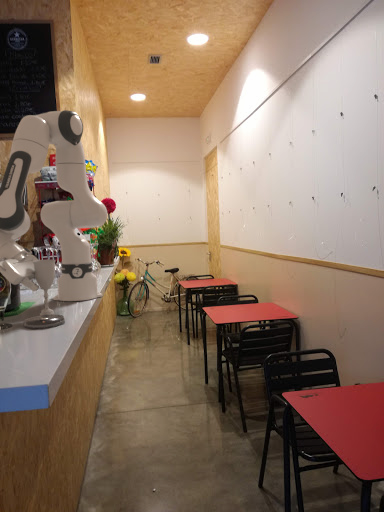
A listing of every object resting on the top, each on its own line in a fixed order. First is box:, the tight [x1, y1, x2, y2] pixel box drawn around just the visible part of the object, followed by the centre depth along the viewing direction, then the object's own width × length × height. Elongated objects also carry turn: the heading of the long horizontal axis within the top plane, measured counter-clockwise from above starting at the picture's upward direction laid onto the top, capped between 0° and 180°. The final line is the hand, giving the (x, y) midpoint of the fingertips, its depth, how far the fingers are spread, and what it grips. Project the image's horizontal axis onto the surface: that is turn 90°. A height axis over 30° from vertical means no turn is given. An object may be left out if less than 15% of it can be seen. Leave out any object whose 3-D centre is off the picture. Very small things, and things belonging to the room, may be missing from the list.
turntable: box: [24, 314, 66, 330], centre depth 111 cm, size 11×11×2 cm
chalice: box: [32, 259, 57, 316], centre depth 120 cm, size 7×7×18 cm
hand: (43, 287), depth 120 cm, fingers open, 8 cm apart
